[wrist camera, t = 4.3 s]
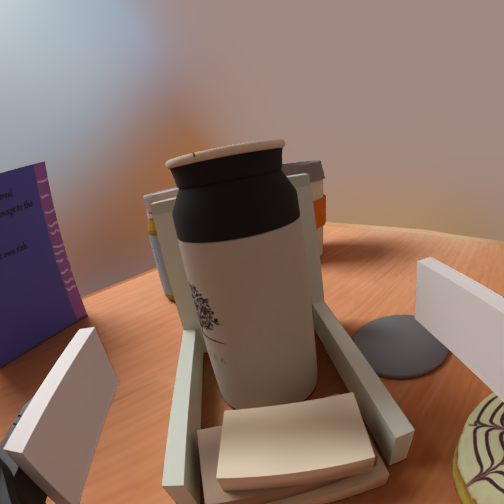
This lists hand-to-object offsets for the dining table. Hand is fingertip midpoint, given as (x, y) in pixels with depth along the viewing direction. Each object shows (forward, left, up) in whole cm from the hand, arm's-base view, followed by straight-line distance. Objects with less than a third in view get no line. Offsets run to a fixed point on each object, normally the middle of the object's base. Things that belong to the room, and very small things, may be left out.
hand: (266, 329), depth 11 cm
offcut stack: (-1, +1, -11) cm, 11 cm away
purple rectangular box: (-40, -2, -11) cm, 42 cm away
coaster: (+3, +15, -11) cm, 19 cm away
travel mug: (-6, +7, -11) cm, 15 cm away
